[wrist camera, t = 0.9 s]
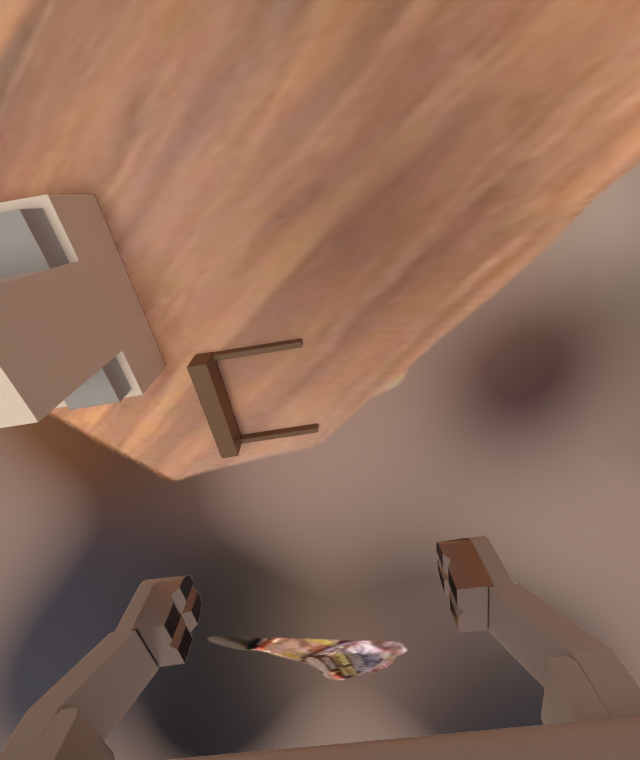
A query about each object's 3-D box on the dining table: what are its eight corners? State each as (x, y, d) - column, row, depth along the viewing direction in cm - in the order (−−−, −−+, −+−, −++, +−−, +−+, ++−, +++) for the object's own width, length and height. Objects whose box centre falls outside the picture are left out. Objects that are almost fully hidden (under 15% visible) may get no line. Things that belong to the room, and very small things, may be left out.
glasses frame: (195, 354, 48) (186, 367, 45) (300, 338, 48) (300, 349, 44) (226, 441, 56) (221, 458, 52) (318, 428, 55) (319, 443, 52)
